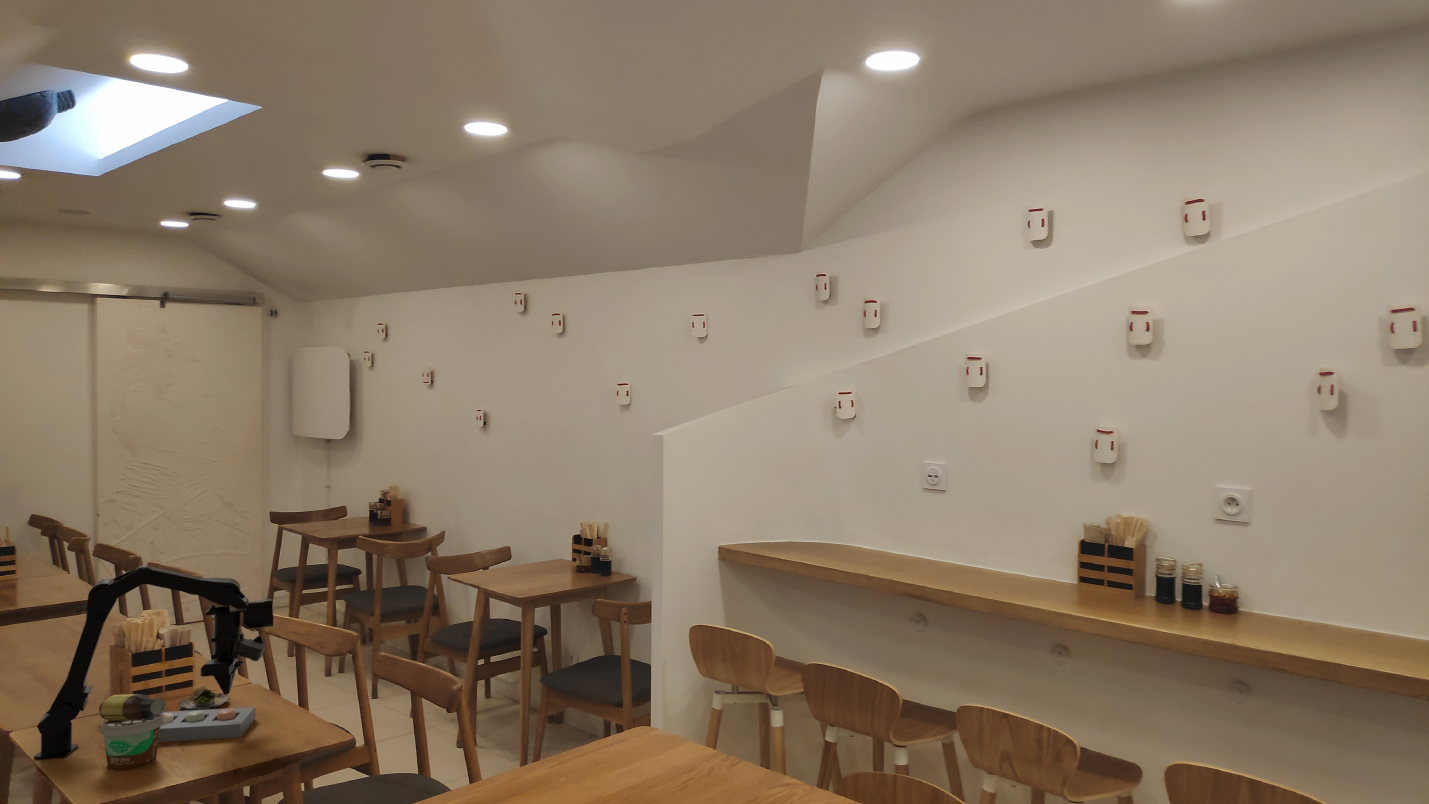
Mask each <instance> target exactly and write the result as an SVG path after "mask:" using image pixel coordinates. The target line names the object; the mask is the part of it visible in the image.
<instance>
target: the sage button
mask: <svg viewBox="0 0 1429 804" xmlns="http://www.w3.org/2000/svg"><path fill="white" fill-rule="evenodd" d="M204 719H205V712H204V711H193V712H189V713H187V714H186V722H199V721H203V720H204Z"/></svg>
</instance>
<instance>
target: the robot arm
mask: <svg viewBox="0 0 1429 804" xmlns="http://www.w3.org/2000/svg"><path fill="white" fill-rule="evenodd" d="M142 585H148V586H153V587H157V588H158V587H159V588H162V589H169V590H172V591H178V592H182V593H187V594H192V595H197V596H198V597H201V598H204V599H205V600H206V601H209V602H211V603H212V604H211V605H210V606H209V608H208V609H206V610H205V613H204V614H205V616H206V617H207V616H213V636H212V637H211V639H210V643H213V653H211V655H210V659H209V660H208V661H207V662H206V663H205V664H203V665H202V666H201V668H200V677H213V678H214V680H215V681H216V683H217V684H218V686H219V688H220V689H221V693H222V694H226V695H229V694H230V693H231V690H232V686H233V681H234V680H235V676H236V672H237V670H238V668H240V667H241V666H242V665H243V664H244V663H245V661H243V660H239V657H242V658H245V659H249V660H251V661H253V662H258V661H259V660H260V659H261V658H262V657H263V655H264V652H265V650H266V649H267V643H266V642H265V637H264V636H262V635H257V636H256V637H255V638H254V639H252V638H249V639H247V638H245V633H244V632H243V631H241V613H242V615H243V618H242V619H243V620H242V621H243V622H242V623H243V626H246V627H248V630H252V629H261V628H271V627H274V609H273V599H272V598H270V599H269V598H268V599H263V600H253V601H252V600H251V601H249V598H248V597H247V596H246V595H245V594H244V593H243V592H242V589H241V585H240V583H239V582H238V580H236V579H234V578H232V577H201V576H196V575H191V574H187V573H182V572H177V571H173V570H169V569H163V568H159V567H154V566H152V565H149V564H141V565H139V566H137V568H134V569H132V570H130V571H127V572H125V573H123V574H120V575H118V576H116V577H114V578H103V579H101V580H99V581H97V582H96V583H95V584H94V585H93V586H92V588H91V589H90V590H89V592H88V594H87V595H88V596H87V601H86V610H85V611H86V612H85V613H86V615H85V618H86V619H85V622H84V625H83V628H82V632H81V634H80V638H79V640H78V644H77V646H76V650H75V652H74V656H73V658H72V662H71V664H70V667H69V671H68V673H67V676H66V679H65V681H64V682H63V685H62V686H61V688H60V690H59V691H58V693H57V695H56V697H55V699H54V700H53V702H52V703H51V706H50V708H49V709H48V711H46V712H45V713H44V714H43V716H42V718H41V719H40V720H39V722H38V723H37V725H36V727H37V729H38V731H39V734H40V751H38V753H36V754H35V755H34V756H33V759H34V760H36V759H37V760H38V759H40V760H41V759H53V758H56V759H57V758H64V757H67V756H68V755H69V754H71V753H73V751H75V750H76V749H77V748H78V747H79V744H76V743H75V744H72V742H73V741H72V739H73V738H72V737H73V736H72V735H73V733H72V732H73V723H72V721H73V720H74V719H76V718H77V717H78V715H79V713H80V712H84V710H85V709H86V706H87V705H88V703H89V695H90V693H91V691H92V689H93V687H94V686H93V685H87V679H88V675H89V671H90V669H91V666H92V662H93V659H94V657H95V653H96V650H97V648H98V645H99V641H100V639H101V635H102V633H103V629H104V626H105V624H106V620H107V619H108V617H109V615H110V613H111V611H112V610H113V608H114V607H115V604H116V603H117V601H118V599H119V598H120V597H122V596H124V595H126V594H127V593H130V592H131V591H133V590H135V589H137V588H138V587H140V586H142ZM216 604H217V605H216ZM218 605H219V606H218ZM232 607H233V608H232Z"/></svg>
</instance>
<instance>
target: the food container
mask: <svg viewBox="0 0 1429 804" xmlns="http://www.w3.org/2000/svg"><path fill="white" fill-rule="evenodd" d="M163 724H164V723H163V718H161V715H160V716H159V717H157V718H155V719H153V720H143V719H141V720H127V721H114V722H106V719H103V720H102V723H101V724H100V729H99V733H100V735H102V736H103V739H104V740H103V741H104V746H105V747H104V749H105V756H106V758H105V759H106V765H107V769H109V770H111V771H119V772H120V771H129V770H135V769H138V768H143V767H145V766H147V765H149V764H152V763H154V762H155V761H156V760H157V753H158V746H159V742H158V739H159V732H160V726H162V725H163Z"/></svg>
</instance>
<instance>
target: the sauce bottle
mask: <svg viewBox="0 0 1429 804" xmlns="http://www.w3.org/2000/svg"><path fill="white" fill-rule="evenodd" d="M166 709H167V702H166V700H164V699H163V698H159V697H158V698H151V697H150V696H148V695H147V694H143V693H142V694H141V693H136V694H135V693H132V694H131V693H130V694H113V695H109V696H107V697H105V698H104V699H103V700H102V701H101V702H100V705H99V706H98V712H99V716H100V718H102V719H103V720H104V719H105V721H111V722H112V721H113V722H123V721H127V720H143V719H144V718H145V717H147V716H149V715H152V716H158V715H161V714H162V713H163V712H166Z"/></svg>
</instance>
